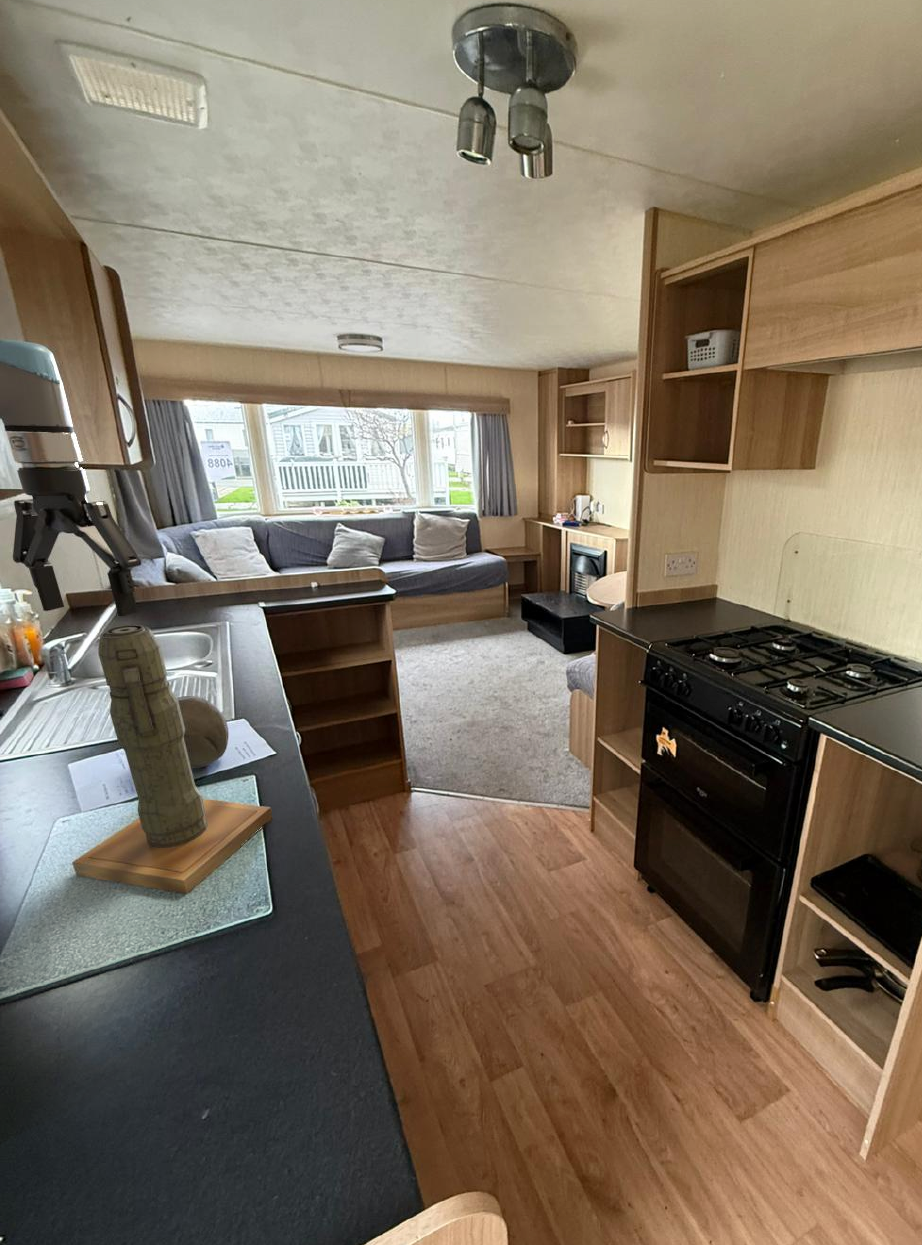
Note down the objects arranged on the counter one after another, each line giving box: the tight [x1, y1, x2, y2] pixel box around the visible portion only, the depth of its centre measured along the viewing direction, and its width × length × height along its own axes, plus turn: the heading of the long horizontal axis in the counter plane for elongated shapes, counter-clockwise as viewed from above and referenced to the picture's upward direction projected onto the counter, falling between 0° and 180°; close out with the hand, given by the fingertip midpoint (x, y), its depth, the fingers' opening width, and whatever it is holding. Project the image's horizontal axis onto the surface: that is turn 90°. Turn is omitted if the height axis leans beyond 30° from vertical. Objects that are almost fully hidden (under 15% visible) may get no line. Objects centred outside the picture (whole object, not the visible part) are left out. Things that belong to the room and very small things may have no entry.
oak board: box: [72, 797, 273, 894], centre depth 102 cm, size 20×20×3 cm
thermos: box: [98, 624, 208, 848], centre depth 95 cm, size 9×12×35 cm
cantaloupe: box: [177, 695, 230, 769], centre depth 125 cm, size 14×14×15 cm
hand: (90, 611), depth 94 cm, fingers open, 13 cm apart
